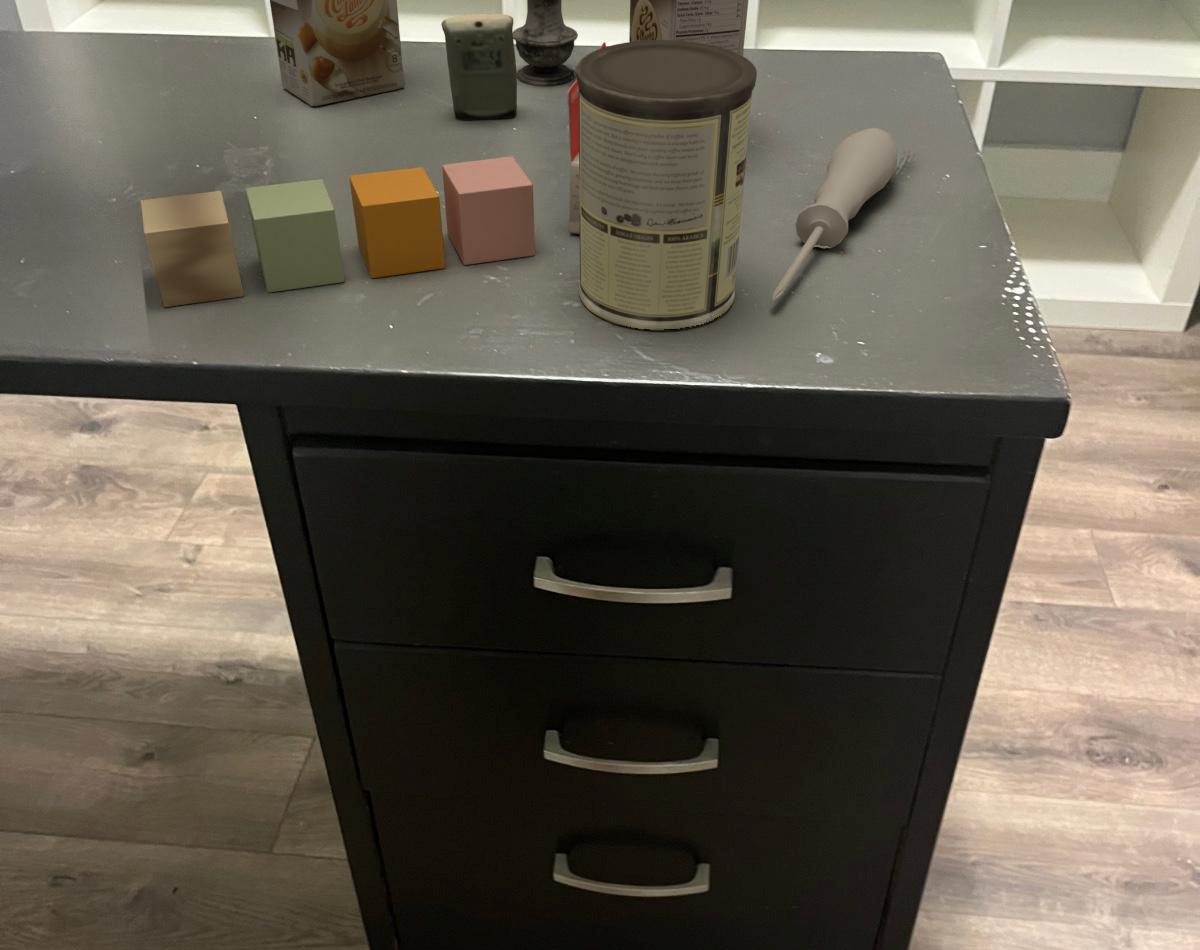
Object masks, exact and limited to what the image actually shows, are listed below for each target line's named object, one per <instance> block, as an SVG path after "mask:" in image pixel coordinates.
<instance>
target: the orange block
mask: <svg viewBox="0 0 1200 950" xmlns="http://www.w3.org/2000/svg"><path fill="white" fill-rule="evenodd" d="M348 178H349V186H350V194H351V201H352V207H353V216H354V223H355V229H356V230H355V232H356V236H357V237H356V238H357V245H358V248H359V251H360V254H361V255H362V258H363V260H364V263H365V266H366V268H367V270H368V273H369V275H370V278H371V279H376V278H377V279H378V278H383V277H392V276H397V275H406V274H412V273H413V274H414V273H420V272H429V271H434V270H435V271H436V270H441V269H445V268H446V259H445V258H446V257H445V247H444V235H443V234H444V233H443V223H442V214H441V213H442V211H441V201H440V200H441V198H440V195H439V193H438V192H437V190H436V188H435V187H434V185H433V183H432V180H431V178H430V177H429V176H428V174H427V172H426V170H425V169H424V167H423V166H422V167H421V166H420V167H412V168H404V169H396V170H388V171H378V172H370V173H362V174H354V175H353V174H352V175H349V177H348Z"/></svg>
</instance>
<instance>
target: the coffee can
mask: <svg viewBox="0 0 1200 950" xmlns="http://www.w3.org/2000/svg"><path fill="white" fill-rule="evenodd" d="M757 72H758V71H757V68H756V66H755V65H754V64H753V63H752V62H751V61H750V60H749V59H748V58H747V57H745V56H744V55H743V56H742V55H740V54H738V53H735V52H733V51H730V50H727V49H724V48H721V47H718V46H713V45H709V44H703V43H698V42H690V41H678V40H642V41H633V42H629V41H628V42H621V43H616V44H612V45H609V46H606V47H605V48H602V49H599V48H598V49H596V50H594V51H592V52H590V53H588V54H587V55H585V56H584V57H583V58H581V59H580V60H579V62H578V63H577V66H576V79H577V83H578V86H579V184H580V234H579V285H578V294H579V299H580V302H582V304H583V306H585V307H586V308H587V310H588V311H590V312H591V313H593V314H594V315H596V316H597V317H598V318H600V319H602V320H605V321H607V322H610V323H612V324H615V325H617V326H618V325H619V326H623V327H626V326H627V328H630V327H631V329H635V328H638V329H637V330H644V329H650V330H649V331H665V330H664V329H678V330H681V329H680V328H683V329H686V328H685V327H689V328H693V327H692V326H694V327H697V326H696V325H699V326H702V325H705V324H707V323H710V322H712V321H715V320H716V319H715V318H717V317H718V318H720V317H722V316H723V315H724V314H726V312H727V311H728V310H729V309H730V308H731V307H732V305H733V303H734V301H735V297H736V289H735V288H736V274H737V265H738V264H737V263H738V252H739V244H740V232H741V220H742V206H743V197H744V186H745V176H746V165H747V156H748V143H749V131H750V121H751V110H752V109H751V108H752V98H753V91H754V89H755V87H756V81H757V76H758V75H757V74H758V73H757ZM730 306H731V307H730ZM723 313H724V314H723ZM722 314H723V315H722ZM719 316H720V317H719ZM718 318H717V319H718ZM714 319H715V320H714ZM709 321H710V322H709ZM706 322H707V323H706ZM704 323H705V324H704ZM701 324H702V325H701Z"/></svg>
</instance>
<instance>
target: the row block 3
mask: <svg viewBox="0 0 1200 950" xmlns="http://www.w3.org/2000/svg"><path fill="white" fill-rule="evenodd" d="M441 170H442V185H443V195H444V196H443V197H444V207H445V220H446V221H445V222H446V231H447V236H448V237H449V239H450V241H451V243H452V245H453V247H454V249H455V251H456V252H457V254H458V256H459V258H460V260H461V262H462V263H463V265H464V266H468V265H475V264H482V263H483V264H484V263H490V262H496V261H497V262H498V261H504V260H511V259H518V258H519V259H520V258H526V257H533V256H535V255H536V241H535V239H536V238H535V208H534V203H535V201H534V184H533V182H532V181H531V180H530V179H529V177H528V176H527V174H526V173H525V172H524V170H523V168H522V167H521V166H520V164H519V162H518V161H517V160H516V159H515V157H514V156H504V157H495V158H489V159H479V160H472V161H471V160H470V161H462V162H455V163H454V162H453V163H446V164H442V165H441Z"/></svg>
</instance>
